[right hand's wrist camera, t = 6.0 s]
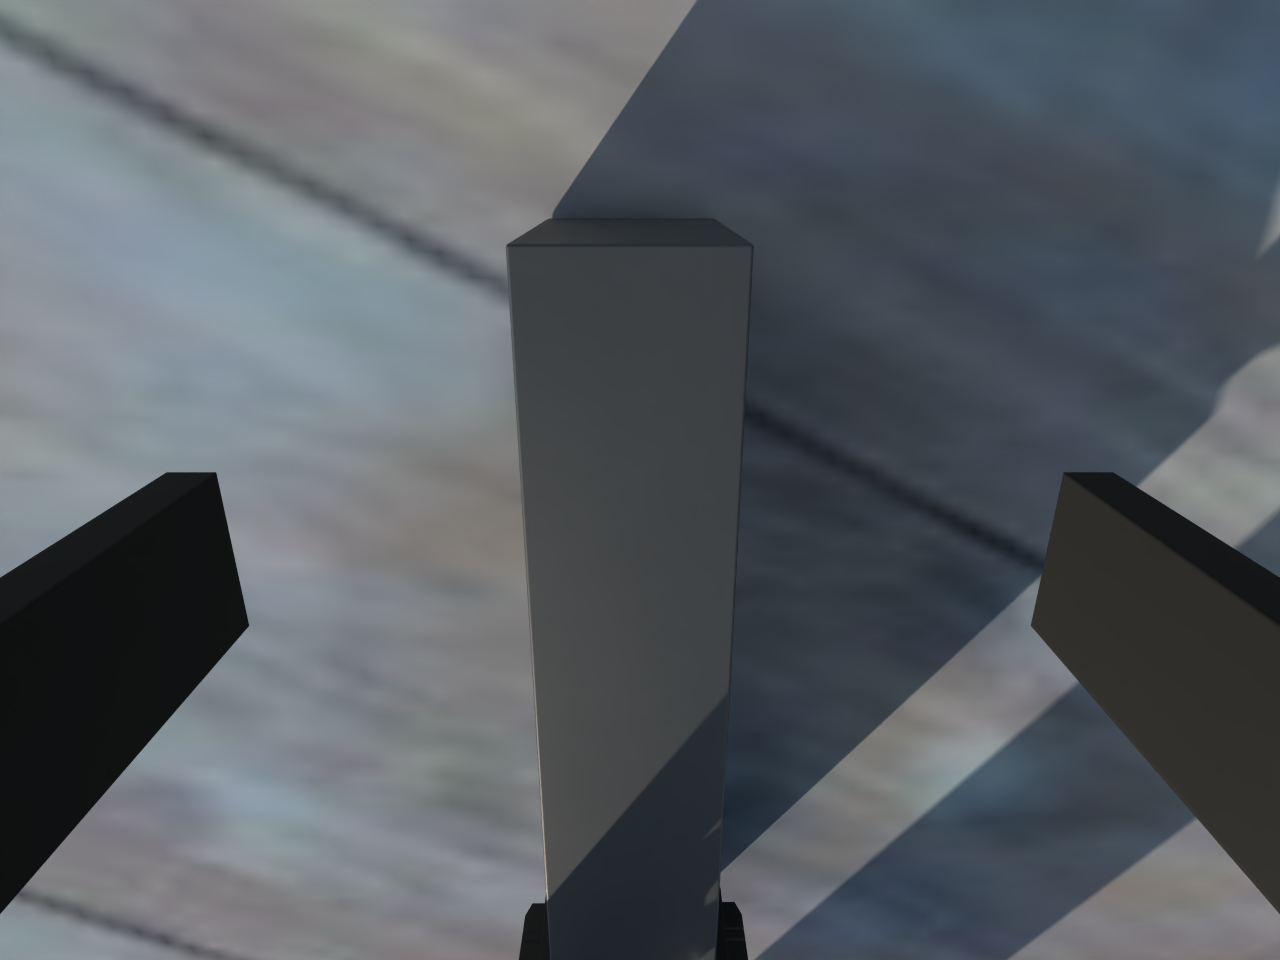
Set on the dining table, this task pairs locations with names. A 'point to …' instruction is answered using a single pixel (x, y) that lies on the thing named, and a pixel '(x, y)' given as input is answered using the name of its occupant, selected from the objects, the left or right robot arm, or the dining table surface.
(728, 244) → the beam
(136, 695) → the right robot arm
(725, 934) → the left robot arm
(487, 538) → the dining table surface
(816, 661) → the dining table surface
